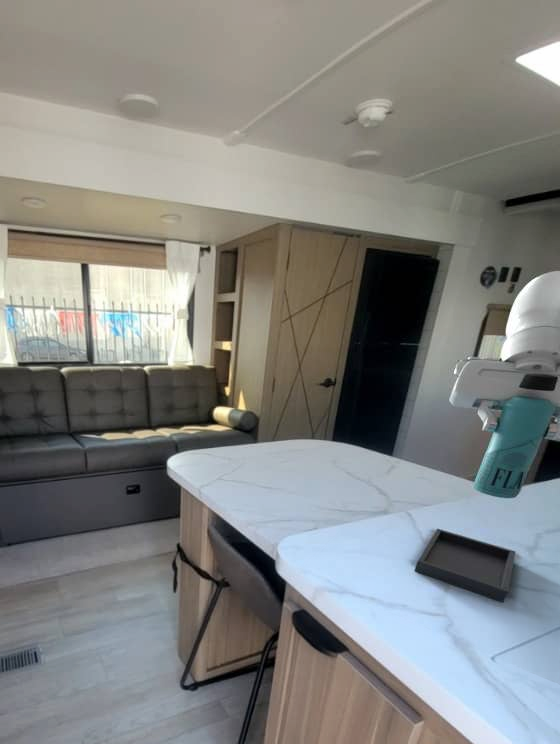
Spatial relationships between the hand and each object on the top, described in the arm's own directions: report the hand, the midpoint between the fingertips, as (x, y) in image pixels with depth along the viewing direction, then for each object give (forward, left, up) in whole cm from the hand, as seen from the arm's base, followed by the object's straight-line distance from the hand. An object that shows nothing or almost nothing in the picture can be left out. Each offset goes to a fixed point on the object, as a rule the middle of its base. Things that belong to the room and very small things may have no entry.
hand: (519, 433), depth 62 cm
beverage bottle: (0, -1, -12) cm, 12 cm away
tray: (0, 0, -24) cm, 24 cm away
